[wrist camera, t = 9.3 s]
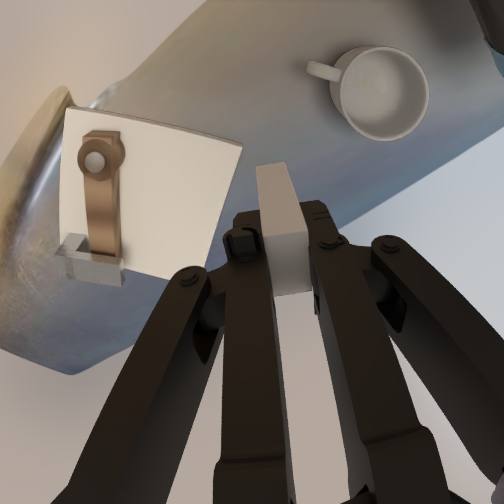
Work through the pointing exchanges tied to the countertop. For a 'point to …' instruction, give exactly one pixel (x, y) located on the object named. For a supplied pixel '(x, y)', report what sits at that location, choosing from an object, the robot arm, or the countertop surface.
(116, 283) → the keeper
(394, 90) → the teacup
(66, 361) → the countertop surface
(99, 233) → the latch
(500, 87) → the countertop surface
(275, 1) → the countertop surface
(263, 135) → the countertop surface
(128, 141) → the base board
